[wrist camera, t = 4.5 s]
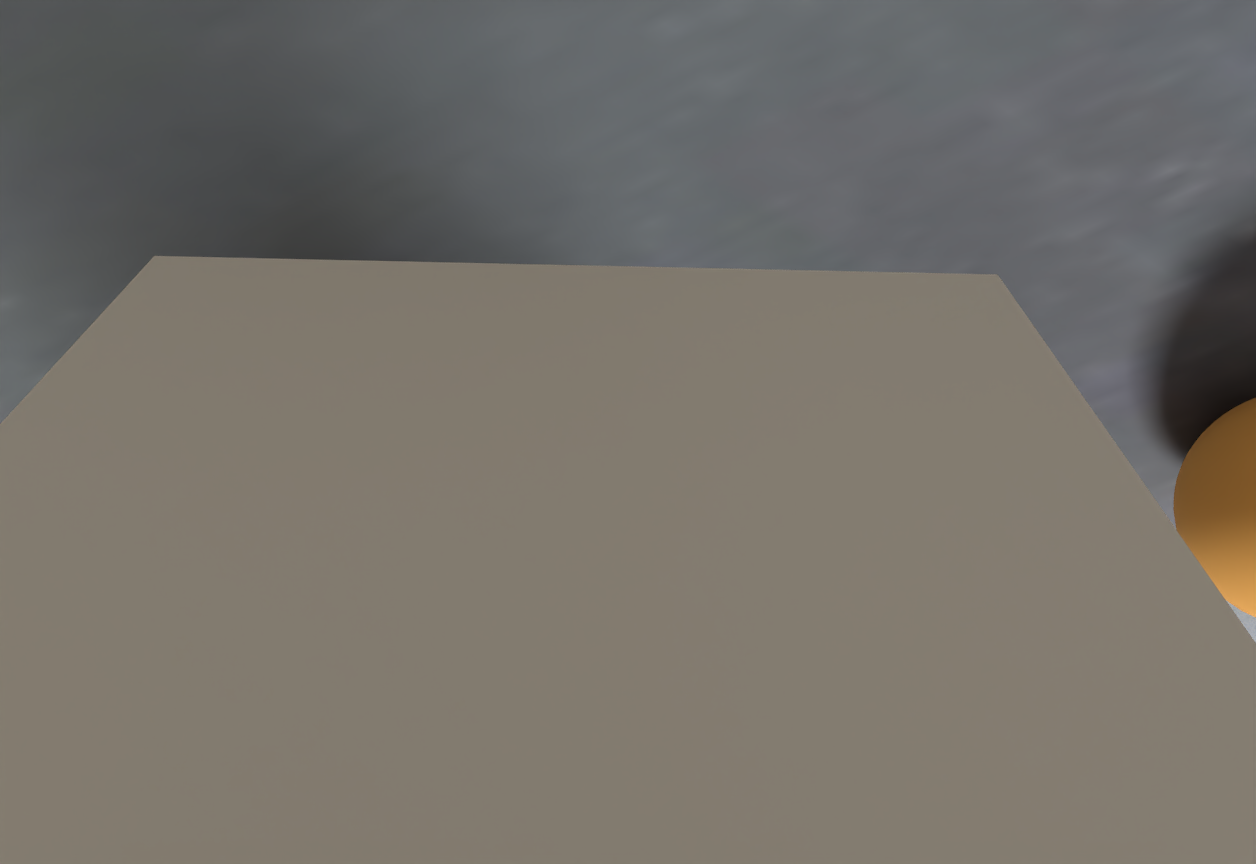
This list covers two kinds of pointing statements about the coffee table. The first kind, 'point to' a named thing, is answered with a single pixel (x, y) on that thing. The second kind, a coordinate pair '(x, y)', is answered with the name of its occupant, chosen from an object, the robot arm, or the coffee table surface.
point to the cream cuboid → (596, 581)
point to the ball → (1222, 504)
